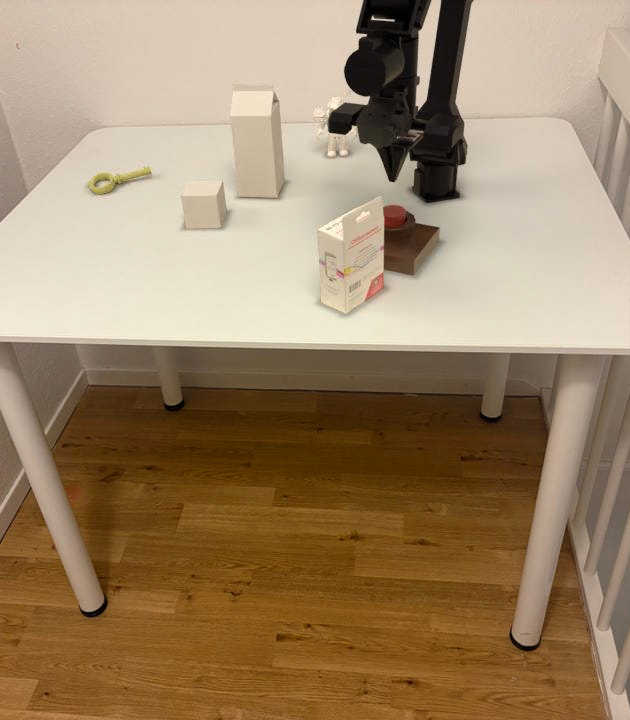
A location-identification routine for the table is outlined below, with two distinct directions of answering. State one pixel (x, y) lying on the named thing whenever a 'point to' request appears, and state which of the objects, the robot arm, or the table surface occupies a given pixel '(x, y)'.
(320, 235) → the ink cartridge box
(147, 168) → the key
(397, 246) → the switch box
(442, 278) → the table surface
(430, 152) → the robot arm
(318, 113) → the blocky character figurine
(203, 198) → the cream cube
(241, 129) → the milk carton
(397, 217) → the switch button
